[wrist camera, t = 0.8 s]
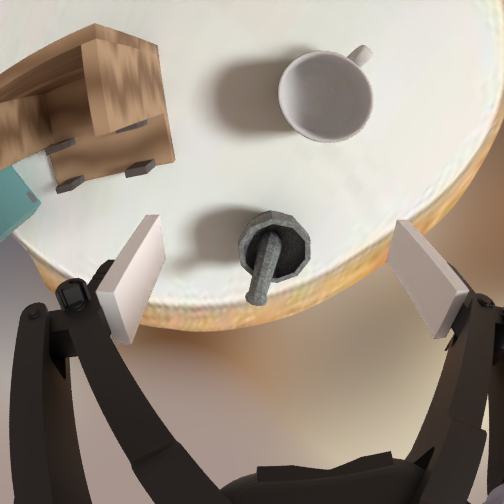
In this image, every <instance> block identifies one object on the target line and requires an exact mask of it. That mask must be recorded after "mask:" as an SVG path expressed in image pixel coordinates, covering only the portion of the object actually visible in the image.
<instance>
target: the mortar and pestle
mask: <svg viewBox="0 0 504 504" xmlns="http://www.w3.org/2000/svg"><path fill="white" fill-rule="evenodd" d="M238 249H239V256H240V263H241V266H242V267H243V268H244V269H245V270H246V271H247V272H249V273H250V274H251V275H252V279H251V284H250V289H249V292H248V293H246V296H245V298H246V301H247V302H249V303H250V304H252V305H256V306H263V305H265V304H266V302H267V297H266V295H267V292H268V289H269V286H270V283H271V282H275V283H278V282H281V281H284V280H287V279H289V278H292V277H295V276H298V274H299V273H300V272H301V271H302V269H303V268H304V267H305V266H306V264H307V263H308V262H309V260H310V237H309V235H308V233H307V232H306V231H305V230H304V228H303V227H302V226H301V225H300V224H299V223H298V222H297V221H296V219H295V218H294V217H293V216H291V215H286V214H284V213H281V212H276V211H271V210H270V211H268V212H265V213H263V214H260V215H258V216H257V217H256V218H253V219H251V221H250V222H249V224H248V225H247V227H246V228H245V230H244V231H243V233H242V235H241V236H240V239H239V241H238Z"/></svg>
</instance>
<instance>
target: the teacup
mask: <svg viewBox="0 0 504 504" xmlns="http://www.w3.org/2000/svg"><path fill="white" fill-rule="evenodd" d="M371 56H372V51H371V49H370V48H368V47H367V46H365V45H361V46H359V47H358V48H356V49H355V50H354V51H353V52H352V53H350V55H349V56H347V57H345V56H343V55H340V54H338V53H335V52H330V51H313V52H309V53H305V54H303V55H301V56H299V57H297V58H296V59H294V60H293V61H292V62H291V63H290V64H289V65H288V66H287V67H286V68H285V70H284V71H283V73H282V75H281V78H280V81H279V85H278V102H279V106H280V109H281V111H282V114H283V115H284V117H285V119H286V120H287V122H288V123H289V124H290V125H291V126H292V128H293V129H295V130H296V131H297V132H298V133H300V134H301V135H303V136H304V137H306V138H308V139H311V140H313V141H317V142H324V143H331V142H340V141H344V140H346V139H349V138H350V137H353V136H354V135H356V134H357V133H358V132H359V131H360V130H361V129H363V127H364V126H365V125H366V122H367V121H368V119H369V118H370V115H371V112H372V108H373V92H372V88H371V85H370V83H369V81H368V79H367V77H366V75H365V74H364V73H363V71H362V70H361V69H360V68H361V67H362V66H363V65H364V64H365V63H366V62H367V61H368V60H369V59H370V58H371Z"/></svg>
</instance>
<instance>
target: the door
mask: <svg viewBox="0 0 504 504" xmlns="http://www.w3.org/2000/svg"><path fill="white" fill-rule="evenodd" d="M40 204H41V202H40V201H39V200H38V199H37V197H36V196H35V195H34V194H33V193H32V191H31V190H30V189H29V188H28V186H27V185H26V184H25V183H24V181H23V180H22V179H21V177H20V176H19V175H18V174H17V172H16V171H15V170H14V168H13V167H12V166H11V165H10V166H8V167H6V168H5V169H3V170H1V171H0V242H1V241H2V240H4V239H5V238H6V237H7V236H8V235H9V234H10V233H12V232H13V231H14V230H15V229H16V228H17V227H19V226H20V225H21V224H22V223H23V222H25V221H26V220H27V219H28V218H30V217H31V216H32V215H33V214H34V213H35V211H36V210H37V208H38V207H39V205H40Z"/></svg>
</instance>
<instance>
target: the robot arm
mask: <svg viewBox="0 0 504 504" xmlns="http://www.w3.org/2000/svg"><path fill="white" fill-rule="evenodd" d="M165 259H166V258H165V251H164V244H163V237H162V230H161V222H160V215H146V216H145V217H144V219H143V220H142V222H141V223H140V224H139V226H138V227H137V229H136V230H135V232H134V233H133V234H132V236H131V237H130V239H129V240H128V242H127V243H126V245H125V246H124V248H123V249H122V251H121V252H120V254H119V255H118V257H117V258H116V260H107V261H106V262H105V263H103V264H102V265H101V266H100V267H99V269H98V270H97V272H96V274H95V275H94V276H93V277H92V279H91V281H90V282H89V284H88V285H86V282H85V281H84V280H83V279H80V278H73V279H69V280H66V281H65V282H63V283H61V284H60V285H59V286H58V287H57V289H56V293H55V295H56V297H57V300H58V302H59V304H60V306H61V310H55V311H48V309H47V307H46V305H45V304H43V303H40V302H39V303H34V304H31V305H29V306H27V307H26V308H25V309H24V310H23V311H22V314H21V316H20V321H19V327H18V332H17V338H16V345H15V352H14V359H13V368H12V379H11V391H10V413H9V415H10V416H9V438H10V458H11V459H10V460H11V472H12V481H13V489H14V496H15V498H14V504H92V502H91V498H90V494H89V490H88V486H87V482H86V478H85V474H84V469H83V465H82V460H81V456H80V450H79V445H78V438H77V432H76V425H75V418H74V410H73V401H72V391H71V378H70V362H69V357H76V356H78V357H79V360H80V362H81V365H82V368H83V370H84V372H85V375H86V377H87V379H88V382H89V384H90V386H91V389H92V391H93V393H94V395H95V397H96V399H97V402H98V404H99V406H100V408H101V410H102V412H103V414H104V416H105V418H106V420H107V422H108V423H109V426H110V427H111V429H112V431H113V433H114V435H115V437H116V438H117V440H118V442H119V444H120V446H121V447H122V449H123V451H124V453H125V454H126V456H127V457H128V459H129V461H130V463H131V466H132V469H133V471H134V473H135V475H136V477H137V478H138V480H139V481H140V483H141V484H142V486H143V487H144V489H145V490H146V492H147V493H148V494H149V496H150V497H151V499H152V500H153V501H154V503H155V504H471V503H469V502H468V501H467V499H468V496H469V494H470V491H471V488H472V486H473V483H474V480H475V477H476V474H477V471H478V467H479V464H480V461H481V457H482V453H483V450H484V446H485V442H486V437H487V433H486V431H485V430H482V429H481V425H482V421H483V416H484V411H485V406H486V400H487V396H488V400H489V457H488V470H487V494H488V497H487V500H486V502H484V503H483V504H504V307H503V308H502V307H497V306H495V304H494V302H493V301H492V300H491V299H490V298H489V297H488V296H485V295H484V294H479V293H477V294H476V293H475V292H474V291H473V289H472V288H471V287H470V286H469V284H468V283H467V282H466V281H465V280H464V279H463V277H462V276H461V275H459V272H458V271H457V270H456V269H455V268H454V267H453V266H452V265H450V264H449V263H448V262H446V261H445V260H444V259H443V258H442V257H441V256H440V254H439V253H438V252H437V251H436V250H435V249H434V248H433V246H432V245H431V244H430V243H429V242H428V241H427V240H426V239H425V238H424V237H423V235H422V234H421V233H420V232H419V231H418V230H417V229H416V228H415V227H414V226H413V225H412V224H411V223H410V222H409V221H408V220H397V222H396V226H395V230H394V235H393V239H392V243H391V247H390V250H389V254H388V258H387V262H388V263H389V265H390V267H391V268H392V270H393V271H394V273H395V274H396V276H397V278H398V279H399V281H400V282H401V284H402V286H403V287H404V289H405V290H406V292H407V294H408V295H409V297H410V299H411V301H412V302H413V304H414V306H415V307H416V309H417V311H418V312H419V314H420V316H421V318H422V319H423V321H424V323H425V325H426V326H427V328H428V330H429V332H430V334H431V336H432V337H433V339H438V338H445V337H446V336H447V334H448V332H449V330H450V329H451V328H452V329H453V331H454V335H453V337H452V338H451V340H450V342H449V344H448V345H447V347H446V349H445V351H447V350H448V353H447V356H446V360H445V363H444V366H443V370H442V373H441V376H440V379H439V382H438V385H437V388H436V391H435V394H434V397H433V400H432V402H431V405H430V407H429V410H428V413H427V415H426V418H425V420H424V423H423V425H422V427H421V430H420V432H419V434H418V437H417V439H416V441H415V443H414V445H413V448H412V450H411V452H410V453H409V455H408V456H407V457H406V459H405V460H402V459H395V458H392V454H391V451H389V452H384V453H380V454H375V455H370V456H364V457H360V458H358V459H356V460H353V461H351V462H348V463H346V464H344V465H341V466H339V467H336V468H333V469H330V470H324V469H315V468H307V467H300V466H294V465H289V466H266V467H265V466H259V467H257V472H256V473H255V474H251V475H247V476H244V477H241V478H239V479H237V480H234V481H232V482H231V483H229V484H227V485H226V486H224V487H223V488H222V489H220V490H219V489H218V487H217V486H216V485H215V484H214V483H213V482H212V481H211V480H210V479H209V477H208V476H207V475H206V474H205V473H204V472H203V470H202V469H201V468H200V467H199V466H198V465H197V463H196V462H195V461H194V460H193V459H192V457H191V456H190V455H189V454H188V452H187V451H186V450H185V449H184V447H183V446H182V445H181V444H180V443H179V442H177V441H176V440H175V439H174V437H173V436H172V434H171V433H170V432H169V430H168V429H167V428H166V426H165V425H164V423H163V422H162V421H161V419H160V418H159V417H158V415H157V414H156V412H155V410H154V409H153V408H152V406H151V405H150V403H149V402H148V400H147V399H146V397H145V395H144V394H143V392H142V391H141V389H140V388H139V386H138V385H137V383H136V381H135V380H134V378H133V376H132V375H131V373H130V371H129V370H128V368H127V366H126V365H125V363H124V361H123V359H122V358H121V356H120V354H119V352H118V351H117V349H116V347H115V345H114V343H113V341H112V339H111V338H110V335H111V334H112V337H113V339H114V342H115V343H120V344H128V345H131V344H132V342H133V339H134V336H135V333H136V331H137V328H138V326H139V323H140V320H141V318H142V315H143V313H144V310H145V307H146V305H147V302H148V300H149V297H150V295H151V292H152V290H153V288H154V285H155V283H156V280H157V278H158V275H159V273H160V271H161V268H162V266H163V264H164V261H165ZM448 348H449V349H448Z"/></svg>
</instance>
